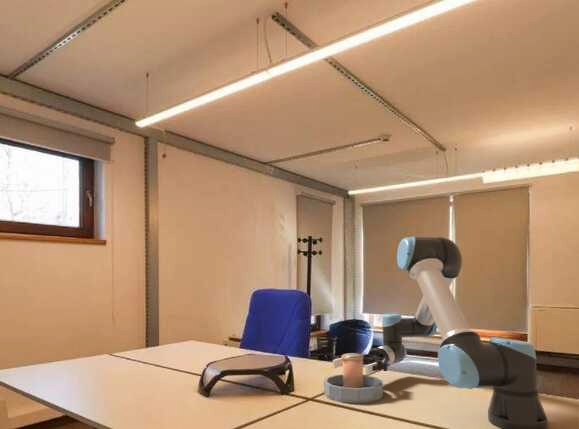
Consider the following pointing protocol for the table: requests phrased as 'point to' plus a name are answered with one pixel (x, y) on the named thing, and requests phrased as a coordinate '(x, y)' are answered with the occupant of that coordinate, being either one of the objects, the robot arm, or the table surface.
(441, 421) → the table surface
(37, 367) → the table surface
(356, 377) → the terracotta jar
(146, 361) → the table surface
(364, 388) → the slate bowl
